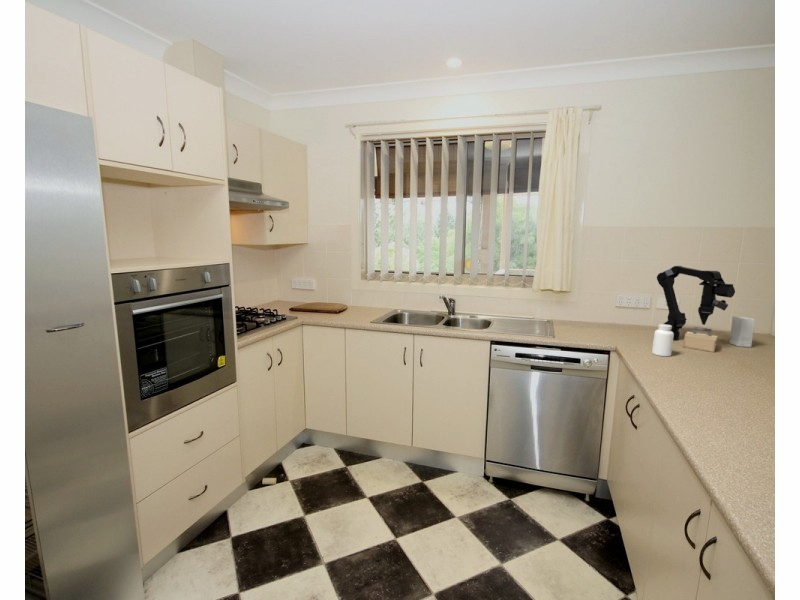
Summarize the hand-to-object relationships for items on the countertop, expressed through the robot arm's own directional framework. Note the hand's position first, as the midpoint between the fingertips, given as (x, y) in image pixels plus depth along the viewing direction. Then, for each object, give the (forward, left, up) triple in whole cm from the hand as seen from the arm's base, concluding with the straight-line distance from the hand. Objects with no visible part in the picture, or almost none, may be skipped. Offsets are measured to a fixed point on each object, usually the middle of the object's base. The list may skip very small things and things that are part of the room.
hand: (704, 323), depth 208 cm
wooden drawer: (0, -4, -13) cm, 13 cm away
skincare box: (+16, +20, -13) cm, 29 cm away
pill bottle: (-13, -34, -13) cm, 39 cm away
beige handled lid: (0, -4, -7) cm, 8 cm away
